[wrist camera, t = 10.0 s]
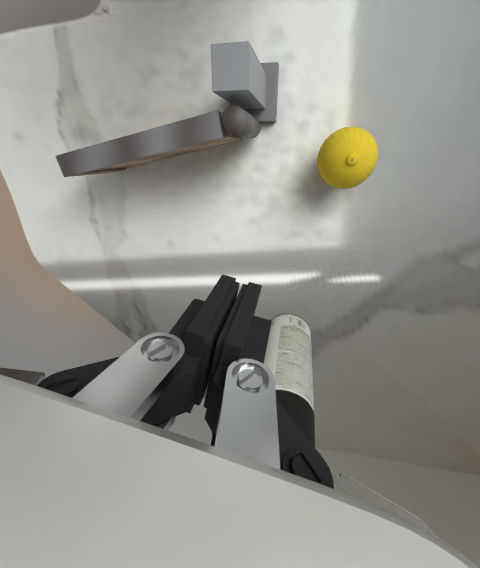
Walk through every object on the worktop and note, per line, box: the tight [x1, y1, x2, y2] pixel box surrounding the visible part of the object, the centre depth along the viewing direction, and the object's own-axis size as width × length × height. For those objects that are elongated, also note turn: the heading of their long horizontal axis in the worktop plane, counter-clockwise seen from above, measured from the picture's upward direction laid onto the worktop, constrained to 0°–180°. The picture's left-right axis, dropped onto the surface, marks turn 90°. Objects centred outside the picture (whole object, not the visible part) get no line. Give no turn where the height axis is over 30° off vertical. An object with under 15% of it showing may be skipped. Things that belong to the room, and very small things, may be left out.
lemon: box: [317, 127, 378, 189], centre depth 27 cm, size 6×6×8 cm
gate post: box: [211, 41, 279, 122], centre depth 25 cm, size 5×5×11 cm
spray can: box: [264, 314, 315, 447], centre depth 33 cm, size 7×7×20 cm
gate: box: [56, 105, 261, 177], centre depth 29 cm, size 20×2×9 cm, turn 102°
